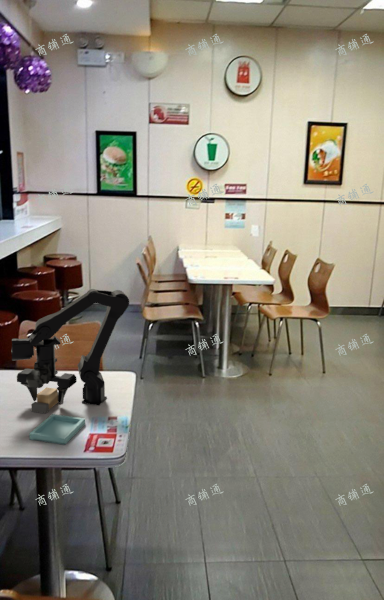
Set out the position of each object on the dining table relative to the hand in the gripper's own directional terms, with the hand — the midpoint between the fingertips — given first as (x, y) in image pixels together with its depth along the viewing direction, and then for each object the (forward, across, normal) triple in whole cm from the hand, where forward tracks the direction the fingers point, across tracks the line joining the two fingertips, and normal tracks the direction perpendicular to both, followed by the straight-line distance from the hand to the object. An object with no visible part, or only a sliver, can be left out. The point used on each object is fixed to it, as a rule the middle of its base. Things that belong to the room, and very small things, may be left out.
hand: (47, 402), depth 161 cm
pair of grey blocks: (+1, 0, 0) cm, 1 cm away
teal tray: (+1, +12, -15) cm, 19 cm away
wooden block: (+1, 0, 0) cm, 1 cm away
